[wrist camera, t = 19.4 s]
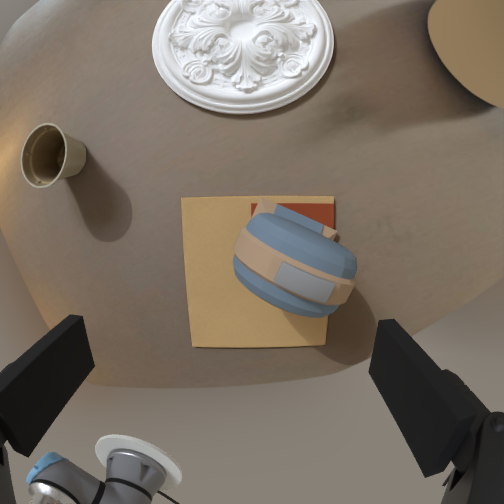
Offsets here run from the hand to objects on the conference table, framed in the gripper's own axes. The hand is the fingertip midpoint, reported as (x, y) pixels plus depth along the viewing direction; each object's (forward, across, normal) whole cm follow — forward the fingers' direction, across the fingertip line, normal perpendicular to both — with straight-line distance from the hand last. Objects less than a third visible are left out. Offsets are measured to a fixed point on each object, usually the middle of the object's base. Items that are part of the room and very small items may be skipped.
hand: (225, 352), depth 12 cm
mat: (+33, +2, -7) cm, 34 cm away
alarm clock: (+32, +6, -2) cm, 33 cm away
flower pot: (+33, -28, +12) cm, 45 cm away
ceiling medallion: (+33, 0, +31) cm, 45 cm away
